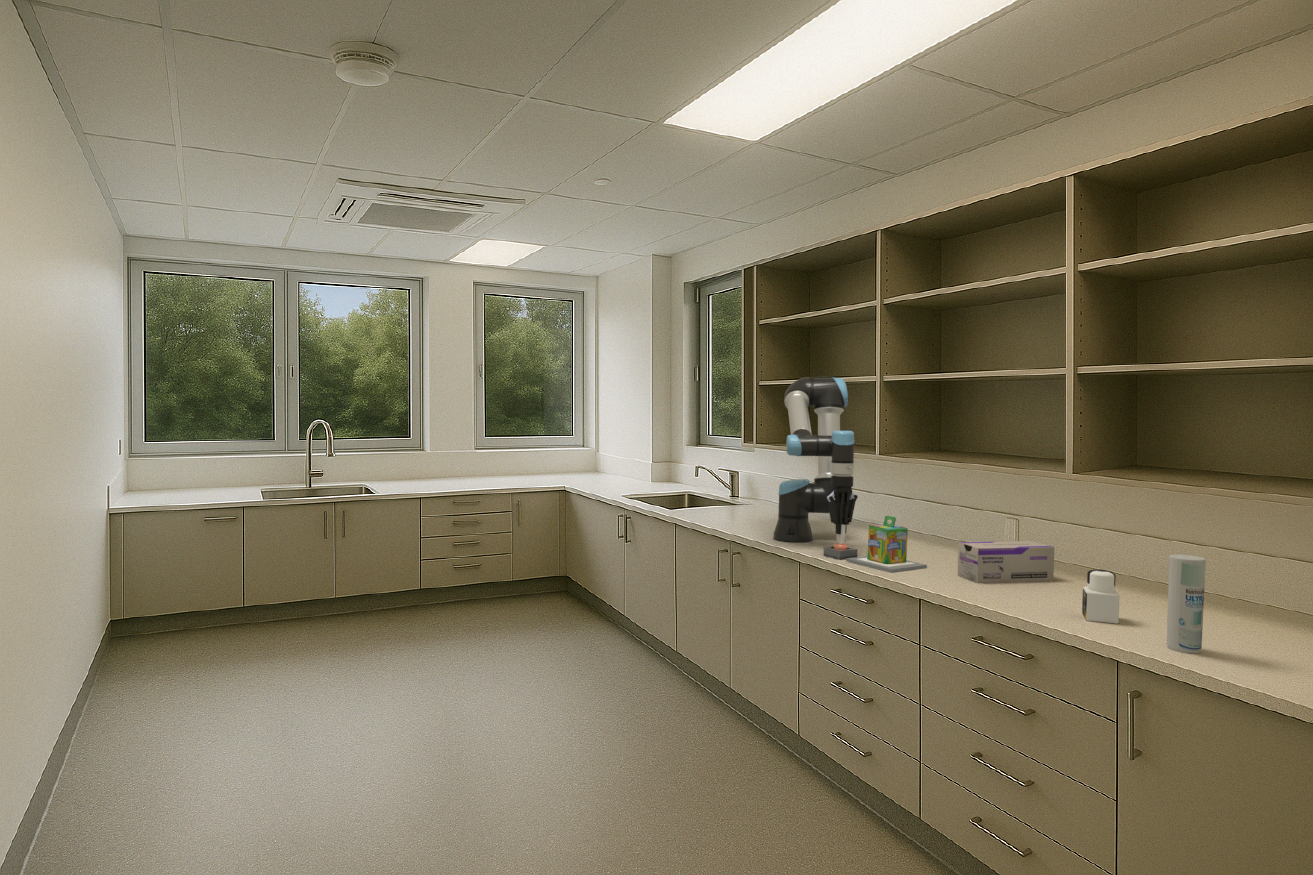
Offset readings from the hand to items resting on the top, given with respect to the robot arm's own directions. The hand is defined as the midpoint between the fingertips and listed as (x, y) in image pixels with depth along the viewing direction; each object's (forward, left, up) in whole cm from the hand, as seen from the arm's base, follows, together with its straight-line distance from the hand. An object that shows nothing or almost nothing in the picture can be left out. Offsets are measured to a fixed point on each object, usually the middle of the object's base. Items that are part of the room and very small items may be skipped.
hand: (840, 543), depth 270 cm
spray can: (+113, -7, -5) cm, 113 cm away
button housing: (0, 0, -5) cm, 5 cm away
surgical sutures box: (+49, +21, -5) cm, 53 cm away
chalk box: (+17, +4, -4) cm, 18 cm away
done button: (0, 0, -3) cm, 3 cm away
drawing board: (+17, +4, -5) cm, 18 cm away
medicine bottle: (+90, +1, -5) cm, 90 cm away
